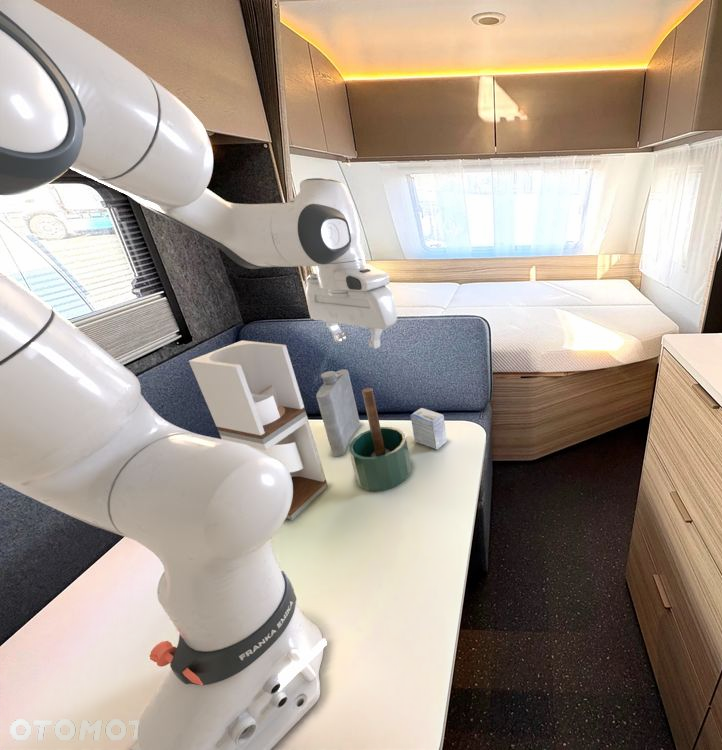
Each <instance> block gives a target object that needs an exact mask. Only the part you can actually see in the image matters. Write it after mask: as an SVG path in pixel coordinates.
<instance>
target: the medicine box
mask: <svg viewBox="0 0 722 750" xmlns="http://www.w3.org/2000/svg"><path fill="white" fill-rule="evenodd" d="M410 420H411V427H412V433H413V438H414V442H415V443H418V444H420V445H423V446H426V447H429V448H431V449H434V450H436V451H437V450H438V449H440V448H441V447H442V446H444V444H446V443H447V442H448V439H447V431H446V423H445V416H444V414H442V413H439V412H436V411H433V410H430V409H427V408H424V407H420V408H419V409H417V410H416V411H414V412H413V413H412V414H410Z"/></svg>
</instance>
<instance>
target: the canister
mask: <svg viewBox="0 0 722 750" xmlns="http://www.w3.org/2000/svg"><path fill="white" fill-rule="evenodd" d="M380 428H381V433H382V438H383V443H384V448H385V449H388V450H389V451H390V452H389V453H387V454H385V455H381V456H377V457H371V455H372V453H373V452H374V451H375V449H374V444H373V440H372V435H371V430H370V429H368V430H366V431H364V432H362V433H360V434H358V435H357V436H356V437H354V438H353V439H352V441H351V442H350V443H349V444H348V445H349V446H348V452H349V456H350V460H351V461H350V462H351V464H352V468H353V472H354V476H355V480H356V482H357V484H358V486H359V487H360V488H361V489H364V490H366V491H369V492H381V491H387V490H390V489H393V488H395V487H398V486H399V485H400V484H401V485H402V484H403V483H404V482H405V481H406V480H407V479H408V478H409V476H410V474H411V471H412V464H411V459H410V453H409V448H408V441H407V436H406V433H405V432H404V431H403V430H402V429H400V428H396V427H392V426H380Z"/></svg>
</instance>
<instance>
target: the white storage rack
mask: <svg viewBox="0 0 722 750" xmlns="http://www.w3.org/2000/svg"><path fill="white" fill-rule="evenodd" d="M188 362H189V365H190V367H191V370H192V373H193V374H194V377H195V380H196V382H197V384H198V386H199V390H200V391H201V393H202V396H203V398H204V400H205V403H206V406H207V408H208V410H209V412H210V415H211V417H212V419H213V422H214V424H215V427H216V429H217V432H218V433H219V436H220V439H222V440H227V441H232V442H237V443H242V444H246V445H248V446H250V447H253V448H255V449H257V450H259V451H261V452H263V453H265V454H267V455H268V456H270V457H272V458H274V459H276V460H277V461H279V462H281V463H282V464H283V465H284V466H285V467H286V468H287V469H288V471H289V473H290V475H291V478H292V483H293V498H292V503H291V507H290V510H289V512H288V515H287V517H286V519H285V520H289V521H293V520H294V519H295V518H297V516H298V515H299V514H301V513H302V511H304V509H306V508H307V507H308V506H309V505H310V504H311V503H312V502H313V501H314V500H315V499H316V498H318V496H320V494H322V493H323V492H324V491H325V490H326V489H327V488H328V482H327V479H326V475H325V471H324V469H323V465H322V462H321V458H320V455H319V452H318V448H317V445H316V441H315V438H314V434H313V431H312V428H311V425H310V421H309V417H308V415H307V411H306V407H305V405H304V401H303V398H302V395H301V391H300V388H299V384H298V381H297V379H296V378H297V377H296V374H295V370H294V368H293V365H292V361H291V357H290V354H289V351H288V348H287V344H280V343H270V342H262V341H261V342H260V341H251V340H240V341H239V340H238V341H237V342H234V343H232V344H228V345H226V346H224V347H221V348H218V349H215V350H213V351H211V352H208V353H206V354H203V355H200V356H197V357H195V358H192V359H190V360H188Z"/></svg>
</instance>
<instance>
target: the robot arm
mask: <svg viewBox="0 0 722 750" xmlns="http://www.w3.org/2000/svg"><path fill="white" fill-rule="evenodd" d="M69 169H71V170H72V171H75V172H77V173H79V174H81V175H83V176H86V177H87V178H89V179H92V180H94V181H97V182H98V183H101V184H103V185H105V186H107V187H109V188H112V189H114V190H117V191H118V192H120V193H123V194H125V195H127V196H128V198H131V199H132V200H134V201H135V202H137V203H138V204H140V205H142V206H143V207H145V208H146V209H148V210H151V211H152V212H154V213H156V214H158V215H160V216H162V217H163V218H165V219H167V220H169V221H171V222H173V223H176V224H177V225H178V226H181V227H183V228H185V229H186V230H188V231H190V232H192V233H194V234H196V235H198V236H199V237H202V238H204V239H206V240H208V242H210V243H212V244H213V245H215V246H216V247H217V248H218V249H219V250H220V251H222V252H223V253H224V254H225V255H226V256H227V257H228V258H230V260H231V261H233V262H234V263H235V264H237V265H239V266H241V267H243V268H246V269H249V270H258V269H268V268H269V269H270V268H295V267H296V268H297V267H299V268H300V267H314V269H315V273H309V274H308V276H307V278H306V279H305V283H306V288H305V295H306V303H307V308H308V313H309V316H310V317H311V318H312V320H314V321H320V322H325V326H326V328H327V329H328V330H329V332H330V333H331V334H332V336H333V340H334V342H335V343H344V342H346V341H347V337H346V333H345V332H343V331H342V330H341V328H340V326H339V325H340V324H341V325H347V326H348V325H349V326H356V327H362V328H363V327H364V328H368V330H369V333H371V337H370V338H368V339H367V343H368V347H369V348H371V349H379V348H380V347H381V345H382V344H381V339H380V338H381V336H382V333H383V331H384V330H386V329H388V328H391V327H393V326H394V325H396V323H397V319H398V314H397V309H396V303H395V299H394V295H393V292H392V291H391V289H390V288H389V287H388V286H387V285H389V284H390V282H391V281H390V275H389V274H388V272H385V271H384V270H381V269H379V268H377V267H375V266H373V265H371V264H369V263H367V262H366V259H365V254H364V252H363V250H362V248H361V244H360V237H361V236H360V235H361V232H360V227H359V222H358V221H359V220H358V218H357V213H356V209H355V206H354V201H353V200H352V197H351V195H350V191H349V189H348V187H347V186H346V184H344V183H342V182H340V181H338V180H336V179H331V178H323V177H322V178H321V177H320V178H319V177H318V178H317V177H314V178H306V179H304V180H302V181H300V183H299V192H298V194H297V195H296V196H294V197H293V198H292V199H289V202H273V203H237V202H236V203H235V202H231V201H227V200H226V199H223V198H222V197H220V196H219V195H217V194H216V193H215V192H213V191H212V190H210V189H209V188H207V187H208V186H209V184H210V182H211V178H212V175H213V170H214V152H213V147H212V143H211V140H210V138H209V135H208V133H207V130H206V129H205V126H204V125H203V123H202V121H200V119H199V118H198V117H197V116H196V115H195V114H194V112H193V111H192V110H190V108H189V107H188V106H187V105H186V104H185V103H184V102H182V101H181V100H180V99H179V98H178V97H177V96H175V95H174V94H173V93H172V92H171V91H170V90H168V89H167V88H165V87H164V86H163V85H161V84H160V83H159V82H157V81H156V80H155V79H153V78H152V77H151V76H149V75H148V74H146V73H145V72H143V70H141V69H140V68H138V66H135V65H134V64H133V63H132V62H130V61H129V60H127V59H126V58H125V57H124V56H122V55H121V54H119V53H118V52H116V51H115V50H114V49H112V48H111V47H109V46H107V45H106V44H104V43H103V42H102V41H100V40H99V39H98V38H96V37H94V36H93V35H91V34H90V33H88V32H86V31H85V30H83V29H82V28H80V27H79V26H77V25H75V24H74V23H72V22H71V21H70V20H67V19H66V18H64V17H62V16H61V15H59V14H58V13H56V12H54V11H52V10H50V9H49V8H47V7H46V6H44V5H42V4H41V3H39V2H37V1H35V0H0V197H2V196H16V195H22V194H26V193H30V192H33V191H36V190H38V189H40V188H42V187H45V186H47V185H49V184H50V183H52V182H54V181H56V180H57V179H59V178H60V177H62V175H64V174H65V173H66V172H67V171H68V170H69ZM0 484H2V485H5V486H6V487H8V488H11V489H12V490H14V491H16V492H19V493H20V494H23V495H25V496H27V497H29V498H31V499H34V500H35V501H38V502H39V503H42V504H44V505H46V506H48V507H50V508H52V509H55V510H57V511H59V512H61V513H64V514H65V515H68V516H70V517H72V518H74V519H76V520H79V521H81V522H83V523H85V524H87V525H89V526H93V527H95V528H99V529H101V530H104V531H106V532H110V533H112V534H116V535H119V536H121V537H125V538H127V539H130V540H133V541H135V542H137V543H138V544H140V545H141V546H142V547H145V548H146V549H147V550H149V551H150V552H151V553H153V554H154V555H155V556H156V557H157V559H158V560H159V561H160V563H161V564H162V566H163V569H164V571H163V573H162V575H161V576H160V578H159V581H158V584H157V590H156V591H157V592H156V594H157V595H156V596H157V600H158V602H159V604H160V605H161V608H162V609H163V610H164V612H165V613H166V615H167V616H168V618H169V620H170V621H171V623H172V624H173V626H174V627H175V628H176V630H177V632H178V633H179V636H178V643H177V646H173V644H172V642H170V641H169V640H162V641H160V642H159V643H157V644H156V645H155V646H154V647H153V648H152V649H151V651H150V654H149V659H150V660H151V661H152V662H154V663H156V665H157V667H160V668H162V667H165V666H166V667H167V665H169V667H170V670H169V672H168V674H167V675H166V676H165V678H164V680H163V681H162V683H161V685H160V686H159V687H158V689H157V691H156V693H155V694H154V695H153V697H152V698H151V700H150V702H149V703H148V705H147V706H146V708H145V709H144V710H143V712H142V714H141V716H140V717H139V722H138V725H137V741H136V742H135V743H134V745H133V746H132V747H131V749H130V750H272V749H273V748H274V747H275V746H276V745H277V744H278V743H279V742H280V741H281V740H282V739H283V738H284V737H285V736H286V735H287V734H288V732H289V731H291V729H292V728H294V726H295V725H296V724H297V723H298V722H299V721H300V720H301V719H302V718H303V717H304V716H305V715H306V714H307V713H308V712H309V711H310V710H311V709H313V707H314V706H315V705H316V703H317V702H318V701H319V699H320V696H321V682H320V677H319V676H320V669H321V665H322V662H323V657H324V649H325V647H326V646H327V645H328V643H327V640H326V639H325V638H323V634H322V631H321V630H320V628H319V627H318V626H317V625H316V624H315V623H314V621H313V622H312V621H311V620H310V619H308V617H307V616H306V615H305V614H304V613H303V611H302V610H301V609H300V607H299V605H298V604H297V596H296V593H295V589H294V586H293V584H292V582H291V580H290V579H289V577H288V575H287V574H286V573H285V571H283V570H282V569H281V568H280V567H281V566H280V565H279V563H278V560H277V557H276V554H275V552H274V549H273V547H272V543H271V539H272V538H273V537H274V536H275V535H276V534H277V532H279V530H280V529H281V527H282V526H283V524H284V522H285V520H287V519H286V517H287V515H288V512H289V510H290V507H291V503H292V498H293V483H292V478H291V475H290V473H289V471H288V469H287V468H286V467H285V466H284V465H283V464H282V463H281V462H279V461H277V460H276V459H274V458H272V457H270V456H268V455H267V454H265V453H263V452H261V451H259V450H257V449H255V448H253V447H250V446H248V445H246V444H242V443H237V442H232V441H227V440H222V439H221V438H218V437H212V436H209V435H208V436H207V435H202V434H199V433H195V432H192V431H189V430H187V429H184V428H182V427H179V426H178V425H175V424H174V423H172V422H169V421H167V420H166V419H164V418H163V416H162V417H161V416H160V415H159V414H158V413H157V412H156V410H154V408H153V407H152V406H151V405H150V404H149V402H147V400H146V398H145V397H144V396H143V395H142V387H141V383H140V381H139V378H138V377H137V376H136V375H135V373H133V372H132V371H131V370H130V369H128V368H127V367H126V366H124V364H122V363H121V362H120V361H118V360H117V359H116V358H115V357H114V356H112V355H111V354H110V353H109V352H107V351H106V350H105V349H104V348H102V347H101V346H100V345H99V344H98V343H97V342H96V341H94V340H93V339H91V338H90V337H89V336H88V335H87V334H86V333H84V332H83V331H82V330H80V329H79V328H78V327H77V326H75V325H74V324H73V323H72V322H70V321H69V320H68V319H66V318H65V317H64V316H63V315H62V314H60V313H59V312H57V311H56V310H55V309H54V308H53V307H52V306H50V305H49V304H48V303H47V302H46V301H44V300H43V299H41V298H40V297H39V296H37V295H36V294H35V293H34V292H32V291H31V290H30V289H28V288H27V287H26V286H24V285H23V284H22V283H20V282H19V281H17V280H16V279H15V278H13V277H12V276H10V275H9V274H8V273H6V272H4V271H3V270H2V269H0ZM300 704H301V705H300Z"/></svg>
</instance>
